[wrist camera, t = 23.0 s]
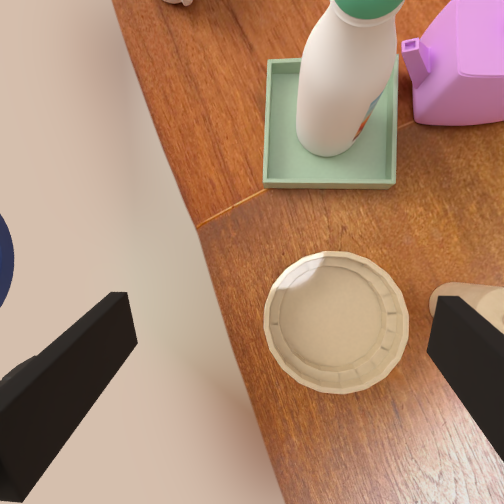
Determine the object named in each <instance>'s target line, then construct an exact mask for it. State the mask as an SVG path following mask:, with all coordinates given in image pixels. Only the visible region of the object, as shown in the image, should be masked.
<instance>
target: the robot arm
mask: <svg viewBox="0 0 504 504" xmlns="http://www.w3.org/2000/svg"><path fill="white" fill-rule="evenodd" d="M137 344H138V342H137V338H136V332H135V328H134V323H133V318H132V313H131V309H130V304H129V299H128V295H127V292H110V293H109V294H108V295H107V296H106V297H104V298H103V299H102V300H101V301H100V302H99V303H98V304H96V305H95V306H94V307H93V308H92V309H91V310H90V311H88V312H87V313H86V314H85V315H84V316H83V317H81V318H80V319H79V320H78V321H77V322H75V323H74V324H73V325H72V326H71V327H70V328H69V329H67V330H66V331H65V332H64V333H63V334H62V335H61V336H59V337H58V338H57V339H56V340H55V341H53V342H52V343H51V344H50V345H49V346H48V347H47V348H45V349H44V350H43V351H42V352H41V353H40V354H38V355H37V356H33V357H32V358H30V359H28V360H26V361H24V362H23V363H21V364H19V365H18V366H16V367H15V368H14V369H12V370H11V371H10V372H9V373H8V374H7V375H5V376H4V377H3V378H2V380H1V381H0V501H10V502H21V503H22V502H23V501H24V500H25V498H26V497H27V495H28V494H29V492H30V491H31V490H32V489H33V487H34V486H35V484H36V483H37V482H38V480H39V479H40V477H41V476H42V475H43V473H44V472H45V471H46V469H47V468H48V466H49V465H50V464H51V462H52V461H53V460H54V458H55V457H56V455H57V454H58V453H59V451H60V450H61V449H62V447H63V446H64V444H65V443H66V441H67V440H68V439H69V438H70V436H71V435H72V433H73V432H74V430H75V429H76V428H77V426H78V425H79V424H80V422H81V421H82V419H83V418H84V417H85V415H86V414H87V413H88V411H89V410H90V409H91V407H92V406H93V404H94V403H95V402H96V400H97V399H98V397H99V396H100V394H101V393H102V392H103V390H104V389H105V388H106V386H107V385H108V384H109V382H110V381H111V379H112V378H113V377H114V375H115V374H116V373H117V371H118V370H119V368H120V367H121V366H122V364H123V363H124V362H125V360H126V359H127V357H128V356H129V355H130V353H131V352H132V351H133V349H134V348H135V346H136V345H137ZM427 353H428V355H429V356H430V357H431V359H432V360H433V362H434V363H435V365H436V366H437V367H438V369H439V370H440V372H441V373H442V375H443V376H444V378H445V379H446V380H447V382H448V383H449V385H450V386H451V388H452V389H453V390H454V392H455V393H456V395H457V396H458V398H459V399H460V400H461V402H462V403H463V405H464V406H465V408H466V409H467V410H468V412H469V413H470V415H471V416H472V418H473V419H474V420H475V422H476V423H477V425H478V426H479V428H480V429H481V430H482V432H483V433H484V435H485V436H486V438H487V439H488V441H489V442H490V443H491V445H492V446H493V448H494V449H495V451H496V452H497V453H498V455H499V456H500V458H501V459H502V461H503V462H504V334H503V333H502V332H500V331H499V330H498V329H497V328H496V327H495V326H493V325H492V324H491V323H490V322H489V321H488V320H486V319H485V318H484V317H483V316H482V315H481V314H479V313H478V312H477V311H476V310H475V309H474V308H472V307H471V306H470V305H469V304H468V303H466V302H465V301H464V300H463V299H462V298H461V297H459V296H438V299H437V304H436V309H435V313H434V318H433V323H432V328H431V333H430V338H429V343H428V348H427Z"/></svg>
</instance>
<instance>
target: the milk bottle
mask: <svg viewBox="0 0 504 504" xmlns="http://www.w3.org/2000/svg"><path fill="white" fill-rule="evenodd" d="M404 1H405V0H330V5H329V7H328V9H327V10H326V12H325V13H324V15H323V16H322V17H321V18H320V20H319V21H318V22H317V24H316V25H315V27H314V28H313V30H312V32H311V34H310V36H309V38H308V40H307V43H306V45H305V48H304V52H303V56H302V60H301V67H300V74H299V85H298V98H297V113H296V133H297V137H298V139H299V141H300V143H301V144H302V146H303V147H304V148H305V149H306V150H308V151H309V152H311V153H313V154H315V155H318V156H324V157H330V156H335V155H339V154H341V153H343V152H345V151H346V150H348V149H349V148H350V147H351V146H352V145H353V144H354V143H355V141H356V140H357V138H358V136H359V135H360V133H361V131H362V129H363V128H364V126H365V124H366V122H367V120H368V119H369V117H370V115H371V113H372V111H373V110H374V108H375V106H376V104H377V102H378V100H379V99H380V97H381V95H382V93H383V91H384V89H385V87H386V84H387V82H388V80H389V78H390V75H391V73H392V70H393V66H394V62H395V57H396V49H397V38H396V29H395V15H396V13H397V12H398V11H399V10H400V9H401V7H402V5H403V3H404Z"/></svg>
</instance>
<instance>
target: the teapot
mask: <svg viewBox="0 0 504 504" xmlns="http://www.w3.org/2000/svg"><path fill="white" fill-rule="evenodd" d="M401 44H402V56H403V59H404V62H405V64H406V67H407V70H408V72H409V75H410V78H411V80H412V83H413V113H414V120H415V121H416V122H417V123H421V124H427V125H445V126H464V125H476V124H485V123H493V122H499V121H504V0H451V1H450V2H449V3H448V4H447V5H446V7H445V8H444V9H443V10H442V11H441V12H440V13H439V14H438V16H437V17H436V18H435V19H434V20H433V22H432V23H431V24H430V26H429V27H428V28H427V30H426V31H425V33H424V34H423V35H422V37H421V39H420V40H419V38H414V39H410V40H405V41H402V43H401Z"/></svg>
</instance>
